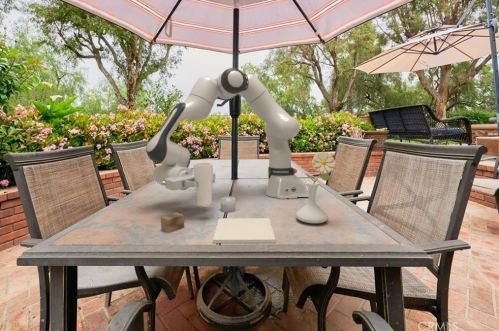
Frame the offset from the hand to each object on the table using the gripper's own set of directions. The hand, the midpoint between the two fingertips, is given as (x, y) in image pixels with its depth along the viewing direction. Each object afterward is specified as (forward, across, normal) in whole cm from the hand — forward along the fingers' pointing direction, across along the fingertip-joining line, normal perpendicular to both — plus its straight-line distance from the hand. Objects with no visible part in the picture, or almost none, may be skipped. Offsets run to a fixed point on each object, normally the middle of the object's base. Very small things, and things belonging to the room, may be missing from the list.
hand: (205, 182), depth 91 cm
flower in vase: (+32, +23, +14) cm, 41 cm away
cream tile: (+18, 0, +14) cm, 23 cm away
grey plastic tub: (-1, +13, +14) cm, 19 cm away
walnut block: (-1, -14, +13) cm, 19 cm away
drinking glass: (-1, 0, +8) cm, 8 cm away
